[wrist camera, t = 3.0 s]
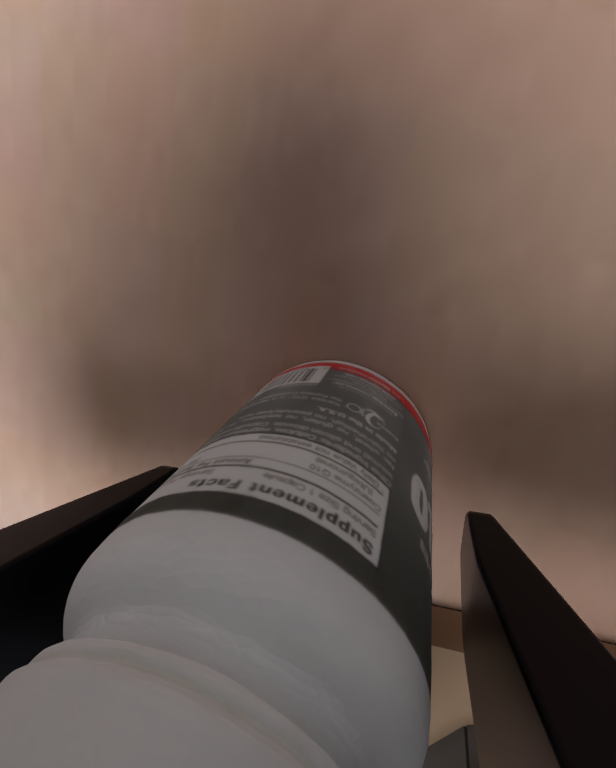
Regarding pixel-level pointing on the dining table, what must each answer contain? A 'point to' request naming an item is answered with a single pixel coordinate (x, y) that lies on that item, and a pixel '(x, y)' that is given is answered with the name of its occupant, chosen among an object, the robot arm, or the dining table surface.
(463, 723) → the socket board
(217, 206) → the dining table surface
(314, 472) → the pill bottle
